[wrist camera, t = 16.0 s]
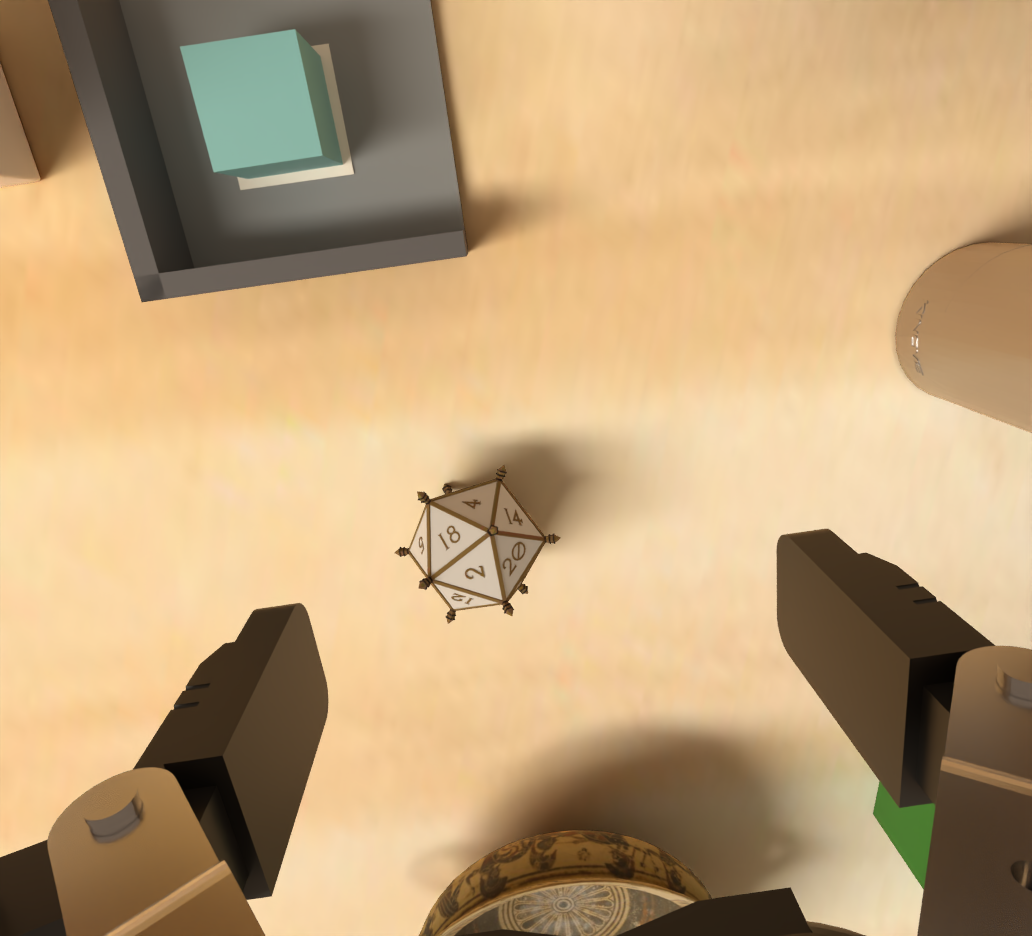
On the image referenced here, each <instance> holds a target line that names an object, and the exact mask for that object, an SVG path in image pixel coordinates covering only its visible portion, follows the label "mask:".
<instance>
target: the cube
mask: <svg viewBox="0 0 1032 936" xmlns="http://www.w3.org/2000/svg"><path fill="white" fill-rule="evenodd" d="M180 49H181V53H182V57H183V60H184V64H185V68H186V72H187V75H188V79H189V83H190V86H191V90H192V94H193V98H194V101H195V105H196V109H197V113H198V116H199V120H200V124H201V127H202V131H203V135H204V139H205V142H206V146H207V150H208V153H209V157H210V161H211V165H212V168H213V172H215V173H220V174H225V175H230V176H235V177H240V178H245V179H253V178H259V177H266V176H272V175H279V174H286V173H292V172H299V171H305V170H312V169H318V168H325V167H332V166H338V165H343V162H342V157H341V152H340V147H339V142H338V138H337V133H336V128H335V123H334V119H333V114H332V109H331V104H330V100H329V95H328V90H327V85H326V80H325V76H324V71H323V66H322V61H321V57H320V55H319V54H318V53H317V52H316V51H315V50H314V49H313V48H312V47H311V46H310V45H309V43H308V42H307V41H306V40H305V39H304V38H303V37H302V36H301V35H300V34H299V33H298V32H297V31H296V30H295V29H293V30H286V31H280V32H273V33H267V34H260V35H253V36H247V37H240V38H234V39H227V40H221V41H214V42H207V43H201V44H194V45H188V46H181V47H180Z"/></svg>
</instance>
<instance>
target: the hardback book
mask: <svg viewBox="0 0 1032 936" xmlns="http://www.w3.org/2000/svg"><path fill="white" fill-rule="evenodd" d="M934 813H935V805H934V803H931V804H924V805H917V806H910V807H903V808H899V807H898V806H897V804H896V803H895V801H894V800H893V799H892V797H891V796H890V795H889V793H888V792H887V790H886V789H885V788H884V786H883V785H882V783H881V782H879V787H878V792H877V797H876V802H875V807H874V812H873V815H874V816H875V818H876V819H877V821H878V822H879V824H880V825H881V827H882V828H883V830H884V831H885V832H886V834H887V835H888V837H889V838H890V840H891V841H892V843H893V844H894V846H895V847H896V849H897V850H898V852H899V853H900V855H901V856H902V858H903V859H904V861H905V862H906V864H907V865H908V867H909V868H910V870H911V871H912V873H913V874H914V876H915V877H916V879H917V880H918V882H919V883H920V885H921V886H922V888H923V889H924V885H925V877H926V870H927V863H928V856H929V849H930V842H931V834H932V827H933V820H934Z"/></svg>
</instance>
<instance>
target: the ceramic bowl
mask: <svg viewBox="0 0 1032 936" xmlns="http://www.w3.org/2000/svg"><path fill="white" fill-rule="evenodd" d="M708 899H712V898H711V896H710V894H709V893H708V891H707V890H706V888H705V887H704V885H703V884H702V883H701V881H700V880H699V879H698V878H697V877H696V876H695V875H694V874H693V873H692V872H691V871H690V870H689V869H688V868H687V867H686V866H685V865H684V864H682V863H681V862H680V861H679V860H677V859H676V858H674V857H672V856H671V855H669V854H668V853H666V852H664V851H663V850H661V849H660V848H657V847H655V846H653V845H651V844H649V843H647V842H644V841H641V840H638V839H636V838H632V837H629V836H626V835H620V834H614V833H609V832H603V831H585V830H573V831H559V832H552V833H546V834H542V835H538V836H533V837H529V838H525V839H522V840H519V841H516V842H513V843H510V844H508V845H506V846H504V847H502V848H500V849H497V850H495V851H493V852H492V853H490V854H488V855H486V856H485V857H483V858H482V859H480V860H479V861H477V862H476V863H474V864H473V865H471V866H470V867H469V868H467V869H466V870H465V871H464V872H463V873H462V874H460V875H459V876H458V877H457V878H456V879H455V880H453V882H452V883H451V884H450V885H449V886H448V887H447V889H446V890H445V891H444V892H443V893H442V894H441V896H440V897H439V898H438V900H437V901H436V903H435V904H434V906H433V907H432V909H431V911H430V913H429V915H428V917H427V919H426V921H425V923H424V926H423V928H422V930H421V932H420V934H419V936H459V935H466V934H473V933H480V932H487V931H494V930H501V929H507V930H515V931H524V932H533V933H541V934H550V935H559V936H617V935H619V934H622V933H624V932H626V931H629V930H631V929H633V928H636V927H638V926H640V925H643V924H645V923H647V922H649V921H652V920H654V919H656V918H659V917H661V916H663V915H666V914H668V913H670V912H673V911H675V910H677V909H680V908H682V907H684V906H687V905H689V904H691V903H694V902H696V901H701V900H708Z"/></svg>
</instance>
